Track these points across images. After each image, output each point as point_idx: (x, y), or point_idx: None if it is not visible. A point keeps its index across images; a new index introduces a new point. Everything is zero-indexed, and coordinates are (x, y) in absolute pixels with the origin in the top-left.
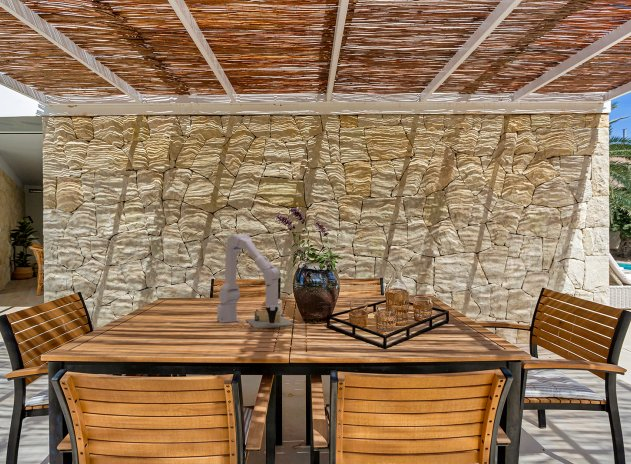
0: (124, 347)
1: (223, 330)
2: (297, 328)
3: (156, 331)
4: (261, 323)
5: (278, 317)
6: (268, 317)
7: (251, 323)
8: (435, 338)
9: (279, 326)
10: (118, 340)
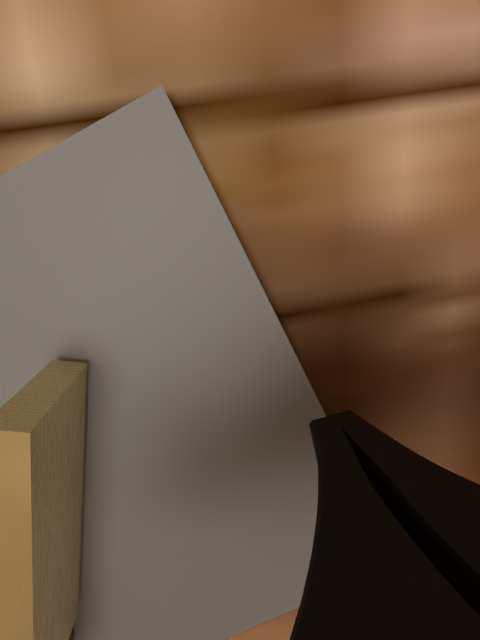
0: None
1: None
2: (353, 4)
3: None
4: (198, 554)
5: (56, 420)
6: (61, 564)
7: (213, 638)
8: None
9: (277, 321)
10: None
